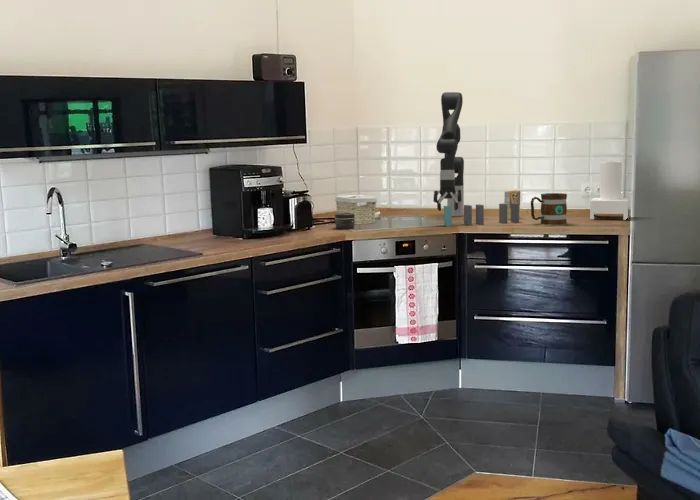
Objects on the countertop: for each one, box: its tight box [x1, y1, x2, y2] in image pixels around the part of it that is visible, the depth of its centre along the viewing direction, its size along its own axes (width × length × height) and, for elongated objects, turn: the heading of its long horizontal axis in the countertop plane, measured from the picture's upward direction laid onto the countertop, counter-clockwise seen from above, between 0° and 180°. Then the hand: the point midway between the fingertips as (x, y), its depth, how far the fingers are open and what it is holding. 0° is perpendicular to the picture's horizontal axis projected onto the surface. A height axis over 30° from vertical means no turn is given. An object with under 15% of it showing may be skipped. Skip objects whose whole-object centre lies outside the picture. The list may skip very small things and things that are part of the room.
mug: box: [530, 192, 568, 226], centre depth 409 cm, size 20×14×15 cm
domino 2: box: [475, 203, 485, 226], centre depth 414 cm, size 2×5×10 cm, turn 12°
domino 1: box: [463, 204, 473, 226], centre depth 413 cm, size 2×5×10 cm, turn 12°
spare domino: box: [443, 205, 452, 227], centre depth 410 cm, size 2×5×10 cm, turn 12°
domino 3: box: [498, 203, 508, 225], centre depth 417 cm, size 2×5×10 cm, turn 12°
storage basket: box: [335, 194, 378, 225], centre depth 435 cm, size 24×16×15 cm
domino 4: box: [510, 203, 520, 224], centre depth 418 cm, size 2×5×10 cm, turn 12°
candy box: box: [503, 189, 521, 221], centre depth 435 cm, size 9×4×15 cm, turn 129°
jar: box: [334, 213, 356, 231], centre depth 408 cm, size 10×10×8 cm
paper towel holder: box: [589, 160, 629, 221], centre depth 429 cm, size 19×19×30 cm
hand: (447, 210), depth 410 cm, fingers open, 8 cm apart
